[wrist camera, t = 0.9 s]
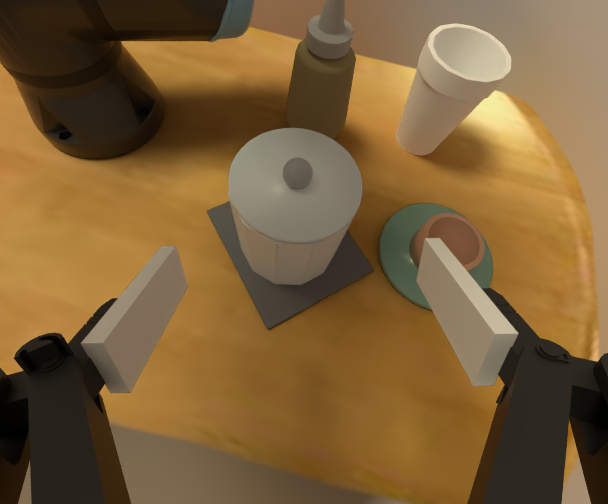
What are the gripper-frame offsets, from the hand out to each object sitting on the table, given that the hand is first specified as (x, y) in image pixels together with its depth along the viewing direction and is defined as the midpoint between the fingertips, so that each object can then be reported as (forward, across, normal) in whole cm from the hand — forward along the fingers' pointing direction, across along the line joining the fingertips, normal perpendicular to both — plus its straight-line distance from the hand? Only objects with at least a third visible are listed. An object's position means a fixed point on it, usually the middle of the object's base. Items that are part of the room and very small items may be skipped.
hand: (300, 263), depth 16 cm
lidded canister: (+18, -2, -8) cm, 19 cm away
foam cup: (+33, +17, 0) cm, 37 cm away
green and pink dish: (+18, +16, -11) cm, 26 cm away
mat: (+18, -2, -8) cm, 20 cm away
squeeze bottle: (+32, +1, +1) cm, 32 cm away
